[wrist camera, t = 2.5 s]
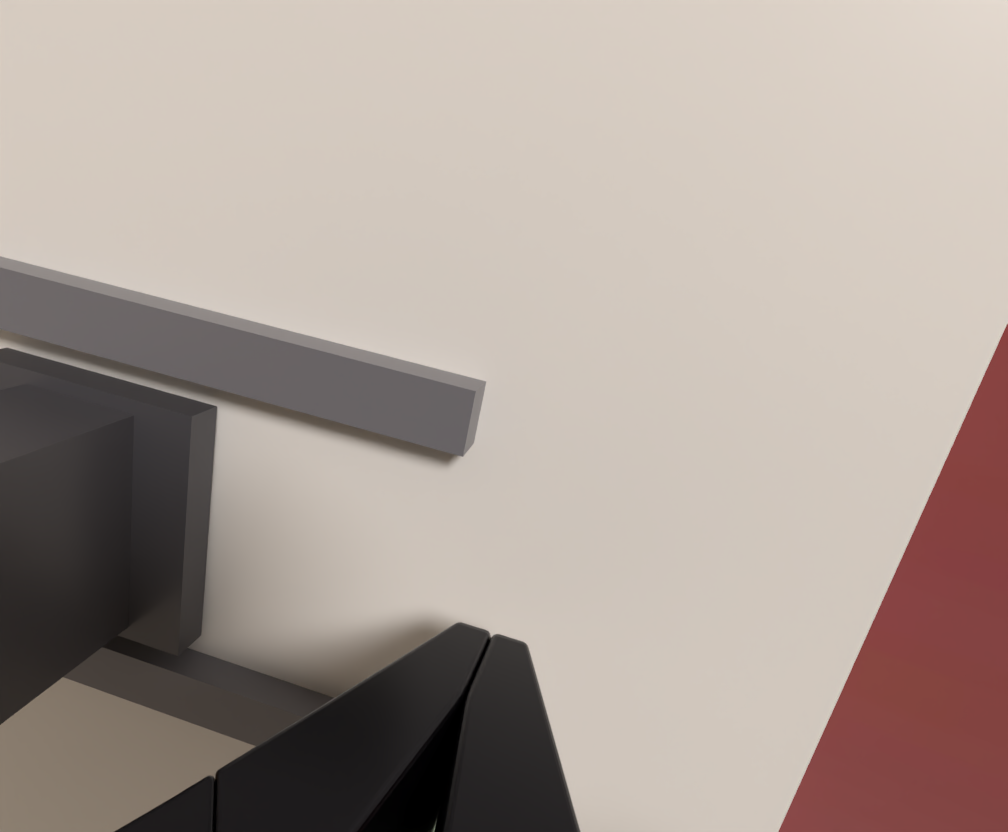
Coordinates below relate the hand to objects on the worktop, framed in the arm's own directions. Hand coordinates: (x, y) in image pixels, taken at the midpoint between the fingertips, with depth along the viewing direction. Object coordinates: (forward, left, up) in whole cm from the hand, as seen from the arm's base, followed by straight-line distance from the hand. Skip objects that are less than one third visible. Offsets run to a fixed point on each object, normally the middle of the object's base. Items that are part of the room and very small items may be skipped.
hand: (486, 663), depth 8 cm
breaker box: (+6, 0, -4) cm, 7 cm away
